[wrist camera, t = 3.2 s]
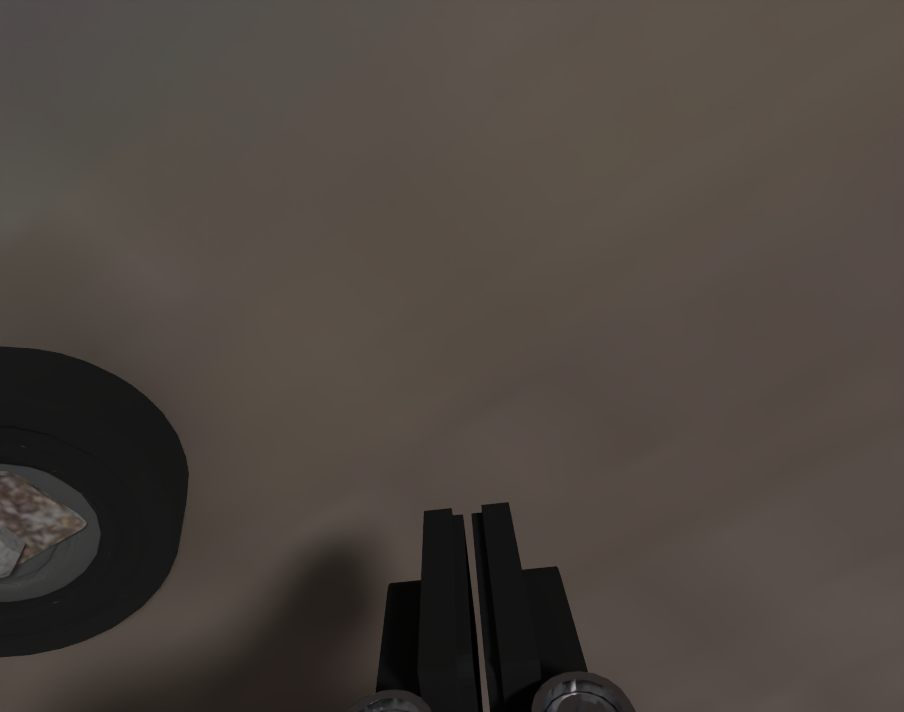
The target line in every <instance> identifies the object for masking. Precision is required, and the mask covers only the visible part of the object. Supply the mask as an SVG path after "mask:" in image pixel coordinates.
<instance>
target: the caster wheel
mask: <svg viewBox="0 0 904 712" xmlns="http://www.w3.org/2000/svg"><path fill="white" fill-rule="evenodd" d="M188 477H189V472H188V467H187V461H186V456H185V453H184V451H183V448H182V445H181V443H180V440H179V437H178V435H177V433H176V432H175V430H174V429H173V427H172V426H171V424H170V423H169V421H168V420H167V419H166V417H165V416H164V414H163V413H162V412H161V411H160V410H159V409H158V408H157V407H156V406H155V405H154V404H153V403H152V402H151V401H150V400H149V399H148V398H147V397H146V396H145V395H144V394H142V393H141V392H140V391H138V390H137V389H136V388H135V387H133V386H132V385H131V384H129V383H127V382H126V381H124V380H122V379H121V378H119V377H117V376H116V375H114V374H112V373H110V372H108V371H106V370H104V369H101V368H99V367H97V366H95V365H93V364H90V363H88V362H86V361H83V360H80V359H77V358H74V357H70V356H67V355H64V354H61V353H56V352H50V351H44V350H39V349H30V348H15V347H0V657H10V656H23V655H32V654H37V653H42V652H46V651H51V650H56V649H61V648H64V647H67V646H70V645H73V644H76V643H79V642H82V641H85V640H87V639H89V638H92V637H94V636H96V635H98V634H100V633H102V632H105V631H107V630H109V629H111V628H113V627H114V626H116V625H117V624H119V623H120V622H122V621H123V620H125V619H126V618H127V617H129V616H130V615H131V614H133V613H134V612H136V611H137V610H138V609H140V608H141V607H142V606H143V605H144V604H145V603H146V602H147V601H148V600H149V599H150V598H151V597H152V595H153V594H154V593H155V592H156V591H157V590H158V589H159V588H160V586H161V585H162V583H163V582H164V580H165V579H166V577H167V575H168V574H169V572H170V570H171V567H172V565H173V562H174V560H175V558H176V555H177V552H178V546H179V541H180V535H181V529H182V524H183V518H184V512H185V507H186V500H187V489H188Z"/></svg>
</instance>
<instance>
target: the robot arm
mask: <svg viewBox="0 0 904 712" xmlns="http://www.w3.org/2000/svg"><path fill="white" fill-rule="evenodd" d="M481 506H482V513H473V514H472V525H473V536H474V548H475V559H476V570H477V581H478V592H479V603H480V615H481V626H482V637H483V648H484V659H485V669H486V678H487V687H488V696H489V705H490V712H636V711H635V709H634V708H633V706H632V704H631V702H630V700H629V699H628V698H627V696H626V695H625V694H624V692H623V691H622V690H621V688H619V687H618V686H617V685H615V684H614V683H613V682H611V681H610V680H609V679H607V678H604V677H602V676H599V675H597V674H594V673H588V670H587V667H586V663H585V660H584V656H583V653H582V649H581V646H580V642H579V639H578V635H577V632H576V628H575V625H574V621H573V618H572V614H571V611H570V607H569V604H568V600H567V597H566V593H565V590H564V586H563V583H562V579H561V576H560V573H559V570H558V568H557V566H555V567H545V568H535V569H526V570H522V568H521V563H520V558H519V553H518V547H517V542H516V537H515V532H514V527H513V522H512V517H511V512H510V507H509V503H508V502H507V503H497V504H487V505H481ZM348 712H483V707H482V694H481V681H480V669H479V656H478V643H477V632H476V623H475V614H474V606H473V597H472V589H471V580H470V571H469V563H468V554H467V545H466V537H465V528H464V520H463V515H452V509H451V508H449V509H439V510H429V511H424V523H423V547H422V571H421V580H418V581H408V582H398V583H390V584H389V586H388V592H387V600H386V609H385V617H384V626H383V634H382V643H381V652H380V660H379V669H378V677H377V686H376V693H374V694H372V695H369V696H366V697H365V698H363V699H362V700H360V701H359V702H357V703H356V704H354V705H353V706H352V708H351V709H350V710H349V711H348Z"/></svg>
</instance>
